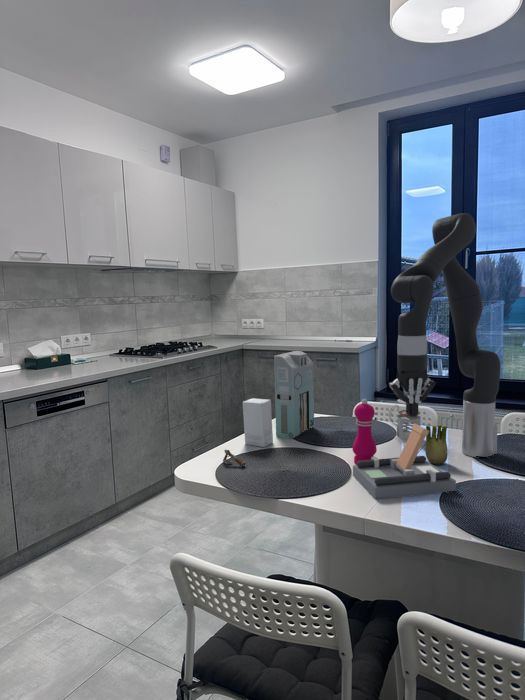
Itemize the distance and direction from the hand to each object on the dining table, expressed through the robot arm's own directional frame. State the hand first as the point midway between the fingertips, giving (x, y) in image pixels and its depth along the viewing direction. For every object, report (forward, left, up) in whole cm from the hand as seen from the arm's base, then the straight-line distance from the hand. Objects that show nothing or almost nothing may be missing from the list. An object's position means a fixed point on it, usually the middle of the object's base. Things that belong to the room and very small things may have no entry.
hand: (412, 416), depth 125 cm
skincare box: (+36, -43, -19) cm, 59 cm away
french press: (-16, -36, -19) cm, 44 cm away
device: (+20, -54, -19) cm, 61 cm away
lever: (+3, 0, -15) cm, 15 cm away
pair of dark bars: (+3, 0, -16) cm, 16 cm away
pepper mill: (+7, -17, -19) cm, 26 cm away
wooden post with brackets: (+46, -24, -19) cm, 55 cm away
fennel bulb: (-14, -12, -19) cm, 27 cm away
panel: (+3, 0, -19) cm, 19 cm away
